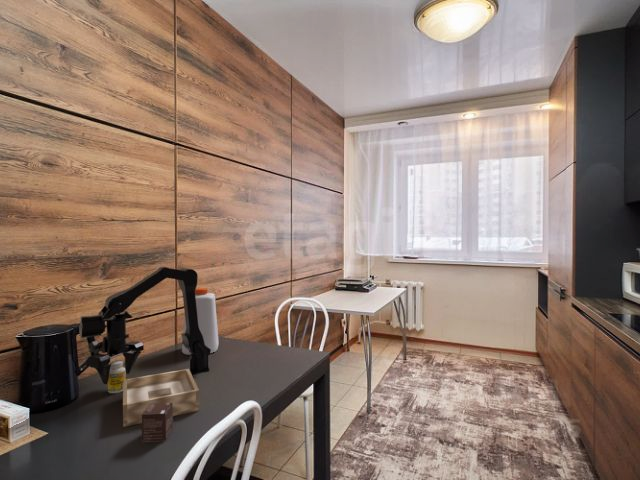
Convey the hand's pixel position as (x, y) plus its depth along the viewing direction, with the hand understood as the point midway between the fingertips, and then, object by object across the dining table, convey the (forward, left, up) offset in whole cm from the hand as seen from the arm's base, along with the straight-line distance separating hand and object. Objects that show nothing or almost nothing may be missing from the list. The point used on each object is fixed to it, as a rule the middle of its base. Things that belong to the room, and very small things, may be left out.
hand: (116, 378), depth 123 cm
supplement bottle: (0, 0, -4) cm, 4 cm away
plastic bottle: (-33, -31, -4) cm, 45 cm away
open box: (-12, +18, -4) cm, 22 cm away
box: (-10, +37, -4) cm, 39 cm away
